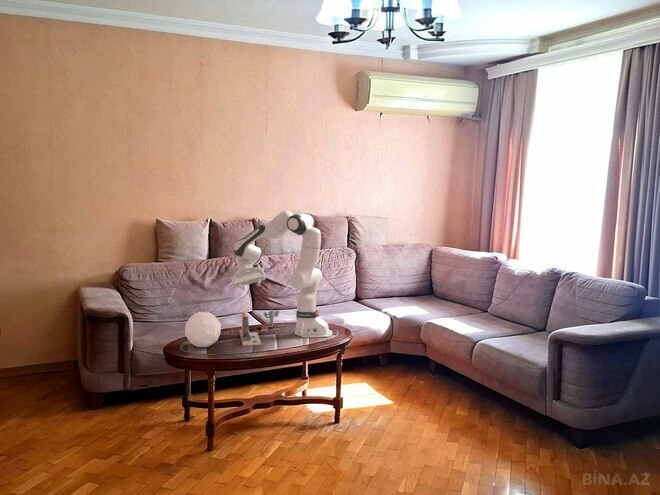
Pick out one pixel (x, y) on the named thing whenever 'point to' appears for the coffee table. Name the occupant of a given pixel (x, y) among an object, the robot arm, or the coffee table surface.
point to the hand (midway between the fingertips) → (251, 287)
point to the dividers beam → (245, 332)
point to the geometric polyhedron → (202, 329)
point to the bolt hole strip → (254, 339)
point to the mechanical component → (271, 316)
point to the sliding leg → (242, 322)
